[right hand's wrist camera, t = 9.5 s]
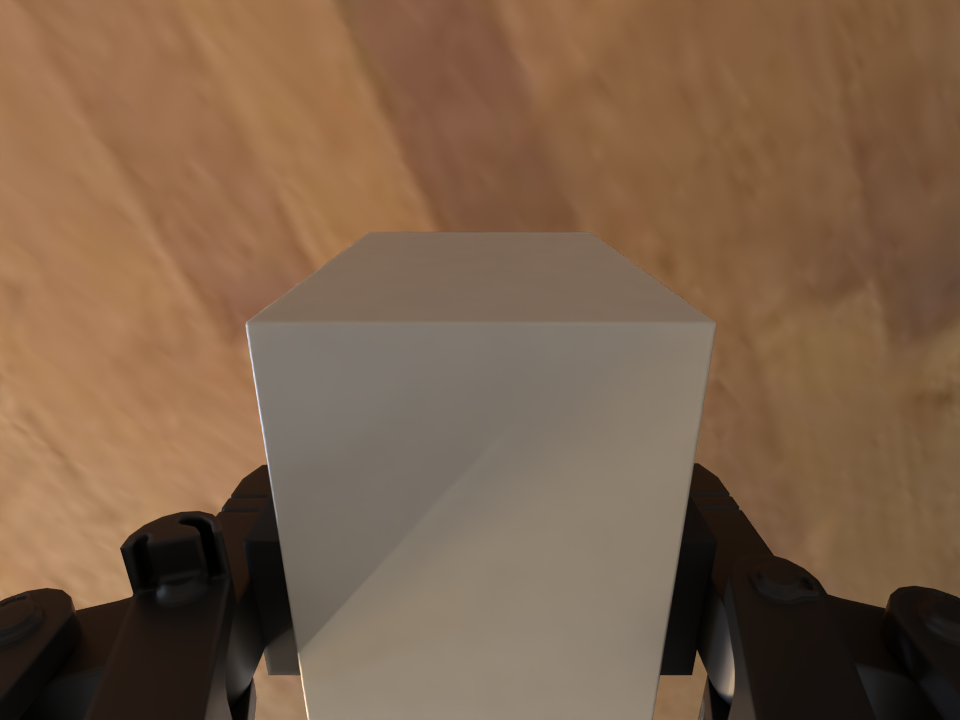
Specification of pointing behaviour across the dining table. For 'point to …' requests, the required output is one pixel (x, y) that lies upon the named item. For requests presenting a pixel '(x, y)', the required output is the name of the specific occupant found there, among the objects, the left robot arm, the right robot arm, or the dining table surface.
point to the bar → (480, 474)
